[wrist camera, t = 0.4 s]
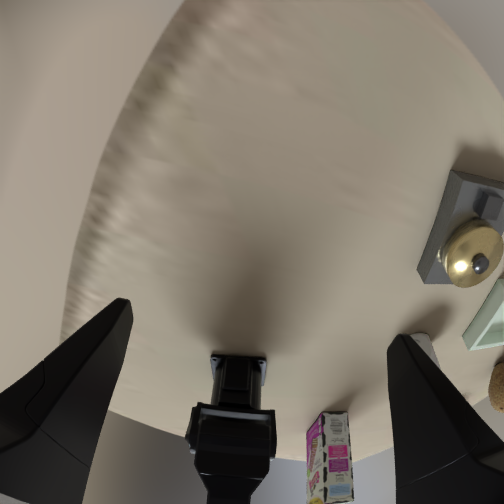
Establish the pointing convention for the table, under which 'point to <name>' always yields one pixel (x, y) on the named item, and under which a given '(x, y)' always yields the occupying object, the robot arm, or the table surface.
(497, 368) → the natural sponge
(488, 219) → the call bell
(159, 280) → the table surface
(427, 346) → the die
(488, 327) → the tray
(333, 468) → the candy bar box
